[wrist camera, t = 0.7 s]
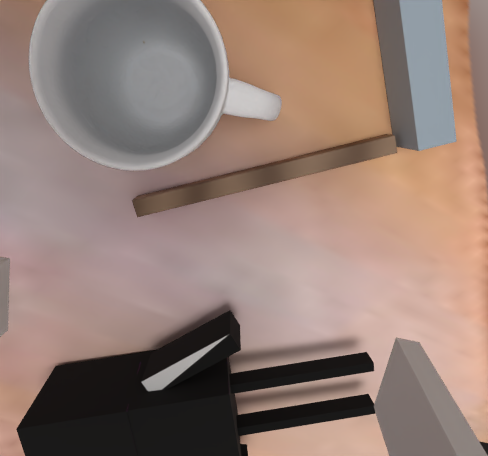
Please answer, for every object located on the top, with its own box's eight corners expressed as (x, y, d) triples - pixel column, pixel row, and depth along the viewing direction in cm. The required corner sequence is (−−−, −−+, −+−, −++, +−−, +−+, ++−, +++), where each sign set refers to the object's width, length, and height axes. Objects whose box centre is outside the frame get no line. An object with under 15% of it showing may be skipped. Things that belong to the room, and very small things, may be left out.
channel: (142, 212, 38) (137, 217, 36) (70, -14, 33) (60, -22, 31) (388, 150, 38) (397, 152, 36) (353, -89, 33) (361, -102, 31)
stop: (394, 146, 38) (418, 150, 33) (360, -87, 33) (383, -121, 28) (427, 137, 38) (456, 141, 33) (398, -97, 33) (427, -133, 28)
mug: (284, 41, 35) (317, 1, 23) (258, 171, 38) (274, 200, 25) (104, 2, 34) (32, -64, 21) (91, 139, 37) (19, 153, 24)
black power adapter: (348, 277, 42) (47, 323, 41) (385, 321, 33) (0, 381, 32) (357, 416, 46) (85, 460, 45) (392, 487, 38) (54, 545, 36)
